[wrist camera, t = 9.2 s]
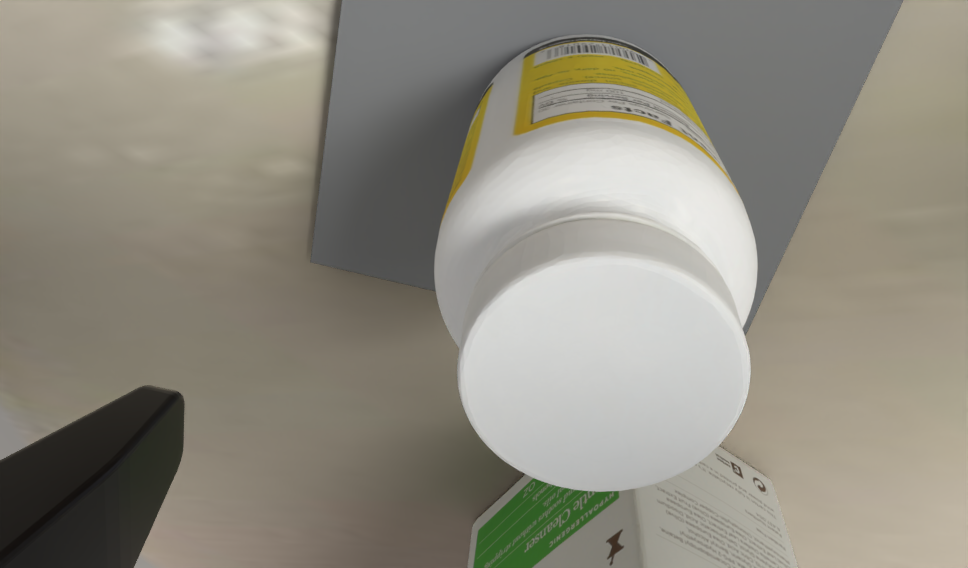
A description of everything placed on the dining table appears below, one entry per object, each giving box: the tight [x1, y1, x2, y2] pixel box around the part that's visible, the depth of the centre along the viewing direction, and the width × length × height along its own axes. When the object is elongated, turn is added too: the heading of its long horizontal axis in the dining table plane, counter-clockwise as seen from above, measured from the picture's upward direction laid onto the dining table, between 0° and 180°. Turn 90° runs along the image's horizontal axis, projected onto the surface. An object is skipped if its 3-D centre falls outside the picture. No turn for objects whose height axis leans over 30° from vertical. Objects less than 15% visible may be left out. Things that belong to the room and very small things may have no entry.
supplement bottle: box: [434, 34, 758, 492], centre depth 15 cm, size 5×5×10 cm
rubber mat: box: [311, 0, 903, 335], centre depth 19 cm, size 12×10×1 cm
